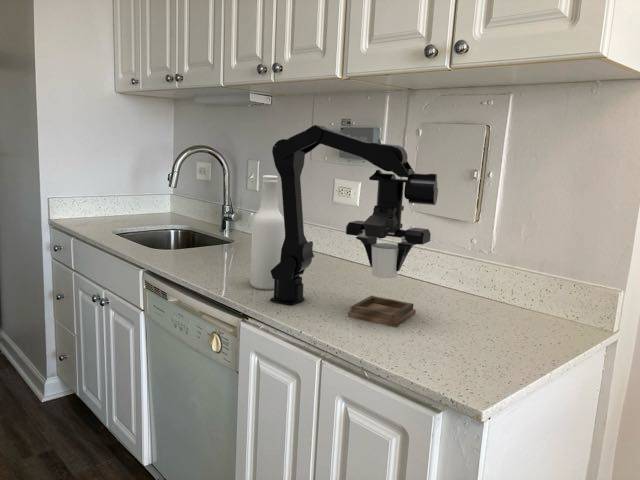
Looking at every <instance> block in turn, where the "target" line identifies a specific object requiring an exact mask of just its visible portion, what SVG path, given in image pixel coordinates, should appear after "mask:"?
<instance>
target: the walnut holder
mask: <svg viewBox="0 0 640 480" xmlns="http://www.w3.org/2000/svg"><path fill="white" fill-rule="evenodd" d="M416 311H417V310H416V309H414V303H412V302H406V301H401V300H398V299H390V298H386V297H381V296H375V295H370V296H368V297H366V298H364V299H363V300H361V301H358V302H356V303H355V304H353V305H351V308H350V311H348V312H347V317H348V318H350V319H351V318H352V319H356V320H362V321H366V322H369V323H370V322H371V323H375V324H380V325H385V326H388V327H393V328H398V327H399V326H400V325H402V324H404V323H405V322H406V321H408V320H409V319H411V318H412V317H414V316H415V315H416Z"/></svg>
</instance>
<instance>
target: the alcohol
mask: <svg viewBox="0 0 640 480" xmlns="http://www.w3.org/2000/svg"><path fill="white" fill-rule="evenodd" d="M278 178H279V176H278V175H272V174H271V175H266V174H265V175H263V176H262V189H261V198H260V207H259V210H258V211H257V212H256V213H255V214H254V216H253V218H252V221H251V250H250V281H249V284H250V285H251V286H252V287H253V288H254V289H258V290H265V291H266V290H270V291H271V290H274V279H273V278H272V275H271V270H272V269H273V268H274V267H275V266H276V265H278V264H279V263H280V258H281V249H282V245H283V242H284V239H285V228H284V215H282V213H281V212H280V210H279V204H278V203H279V202H278V201H279V198H278V197H279V196H278Z"/></svg>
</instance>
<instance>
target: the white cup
mask: <svg viewBox="0 0 640 480" xmlns="http://www.w3.org/2000/svg"><path fill="white" fill-rule="evenodd" d="M398 250H399V249H398V244H394V243H385V242H382V243H381V242H379V243H377V244H372V267H371V268H372V269H371V271H372V272H371V273H372V276H373V277H376V278H380V279H394V278H397V275H398V271H396V264H397V257H398Z"/></svg>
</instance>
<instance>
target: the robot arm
mask: <svg viewBox="0 0 640 480" xmlns="http://www.w3.org/2000/svg"><path fill="white" fill-rule="evenodd" d="M320 145H324V146H326V147H330V148H332V149H336V150H339V151H341V152H344V153H348V154H351V155H354V156H357V157H359V158H362V159H364V160H366V161H368V162H369V163H370V164H372V166H373V165H374V166H375V167H377V168H379V169H376V170H375V172H374V173H373V174H372V175H370V176H369V178H368V179H369V180H370V181H377V193H376V194H377V195H376V196H377V197H376V205H374V206H373V212H372V214H371V215H370V216H368V218H366V220H364V221H363V220H357V219H356V220H354V221H349V222H348V223H347V224H346V226H345V235H349V236H355V239H356V240H359V241H360V243H362V244H363V247H364V249H365V252H366V255H367V259H368V263H369V266H370V268H372V244H377V241H378V239H380V240H381V239H385V238H387V237H393V238H400V239H401V241H400V242H397V244H396V245H398V249H399V250H398V257H397V264H396V271H397V272H400V270H401V269H402V266H403V264H404V262H405V260H406V259H407V256H408V254H409V253H410V251H411V249H412V247H414V246H416V245H425V244H427V243H429V242H431V235H432V234H431V231H430V229H428V228H421V227H410V228H408V229H403V223H402V212H403V211H404V210H405V209H404V208H405V205H403V198H404V199H406V200H408V203H409V204H418V205H427V206H428V205H429V206H436V204H437V200H438V194H439V188H438V174H437V173H416V172H415V171H414V169H413V168H412V165H410V162H409V161H408V153H407V151H406V149H405V148H404V146H403V147H402V146H400V145H397V144H388V143H380V142H370V141H368V140H365V139H361V138H360V137H359V138H358V137H354V136H352V135H348V134H346V133H342V132H339V131H336V130H333V129H330V128H328V127H326V126H324V125H317V124H313V125H311V126H310V127H308V128H307V129H306V130H303V131H301V132H298V133H297V134H295V135H293V136H291V137H289V138H281V139H279V140H277V141H276V142H275V144H274V145H273V146H272V149H271V151H272V152H271V153H272V158H273V162H274V167H275V169H276V171H277V173H278V175H279V177H280V182H281V184H280V185H281V198H282V210H283V211H282V213H283V218H284V228H285V237H284V242H283V245H282V249H281V258H280V263H279V264H278V265H276V266H275V267H274V268H273V269H272V270H271V275H272V278H273V279H274V289H273V297H270V299H269V300H270V302H273V303H274V302H275V303H279V304H283V305H288V306H294V305H295V304H297V303H300V302H302V301H304V300H305V299H306V298H305V297H304V283H303V276H301V275H303V274H304V272H305V270H306V269H307V268H309V267H310V265H311V264H312V261H313V258H315V255H314V252H313V247H314V243H313V242H314V241H313V240H311V241H308V240H307V238H306V236H305V231H304V230H305V229H304V215H303V201H302V200H303V199H302V198H303V197H302V186H301V185H302V184H301V175H302V172H303V169H304V165H305V158H306V155H307V154H308V153H311V152H312V151H313V150H314V149H316V148H317V147H318V146H320ZM381 170H383V171H385V172H392V173H383V171H381ZM396 176H397V177H398V178H396ZM402 178H404V179H402ZM405 178H407V179H405Z"/></svg>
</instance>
